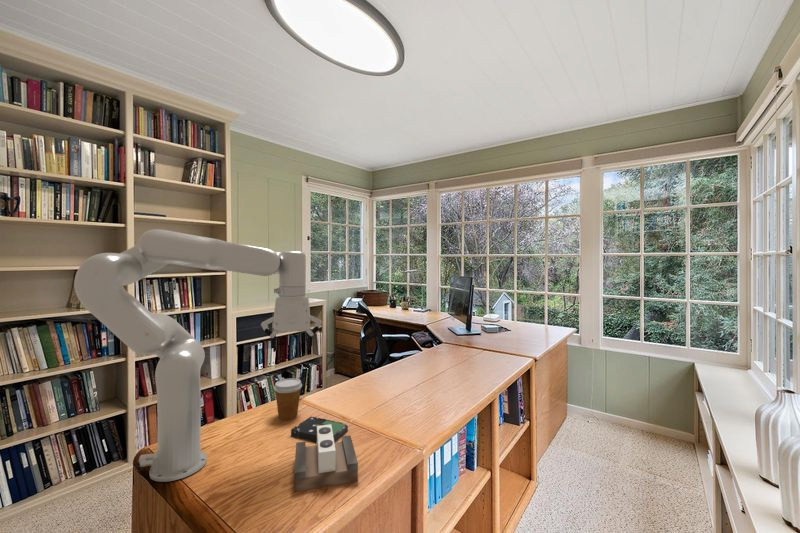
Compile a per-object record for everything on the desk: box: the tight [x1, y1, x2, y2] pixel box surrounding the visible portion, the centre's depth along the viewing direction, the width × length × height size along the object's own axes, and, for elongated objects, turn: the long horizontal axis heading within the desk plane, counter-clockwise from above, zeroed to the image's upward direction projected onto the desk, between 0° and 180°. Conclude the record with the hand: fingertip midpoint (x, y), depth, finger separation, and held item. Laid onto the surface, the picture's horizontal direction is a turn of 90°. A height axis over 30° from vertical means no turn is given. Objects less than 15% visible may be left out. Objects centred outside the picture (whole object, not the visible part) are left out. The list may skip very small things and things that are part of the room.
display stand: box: [293, 434, 359, 493], centre depth 87 cm, size 15×14×4 cm
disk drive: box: [290, 416, 349, 444], centre depth 106 cm, size 10×3×15 cm
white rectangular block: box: [316, 424, 336, 473], centre depth 88 cm, size 4×14×5 cm, turn 16°
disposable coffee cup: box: [273, 378, 303, 421], centre depth 118 cm, size 10×10×12 cm
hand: (292, 349), depth 99 cm, fingers open, 9 cm apart
